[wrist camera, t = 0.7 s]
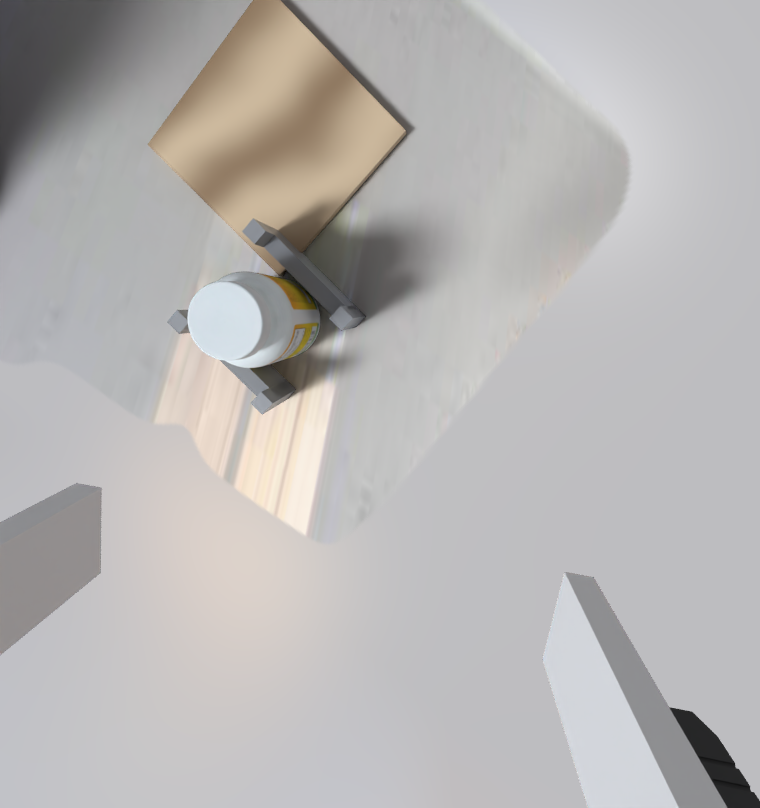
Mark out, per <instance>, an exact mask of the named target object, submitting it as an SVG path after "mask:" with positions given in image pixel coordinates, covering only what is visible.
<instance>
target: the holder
mask: <svg viewBox="0 0 760 808" xmlns="http://www.w3.org/2000/svg"><path fill="white" fill-rule="evenodd" d="M242 232H243V233H244V234H245V235H246V236H247V237H248V238H249V239H250V240H251V241H252V242H253V243H254V244H255V245H258V246H261V247H264V248H265V249H266V250H267V251H268V252H269V253H270V254H271V255H272V256H273V257H274V258H275V259H276V260H277V261H278V262H279V263H280V264H281V265H282V266H283V267H284V268H285V269H286V270H287V271H288V272H289V273H290V274H291V275H292V276H293V277H294V278H295V279H296V280H297V281H298V282H299V283H300V284H301V285H302V286H303V287H304V288H305V289H306V290H307V291H308V292H309V293H310V294H311V295H312V296H313V297H314V298H315V299H316V300H317V301H318V302H319V303H320V304H321V305H322V306H323V307H324V308H325V309H326V310H327V311H328V312H329V313H330V314H331V315H332V316H331V317H330V318H329V319H330V320H331V321H332V322H333V323H334V324H335V325H336V326H337V327H338V328H339V329H340V330H341V331H342V330H346V329H350V328H354V327H356V326H357V325H358V324H359V323H360V322H361V321H362V320H363V319H364V318H365V317H366V316H365V315H364V314H363V313H362V312H361V311H360V310H359V309H358V308H357V307H356V306H355V305H354V304H353V303H352V302H351V301H350V300H349V299H348V298H347V297H346V296H345V295H344V294H343V293H342V292H341V291H340V290H339V289H338V288H337V287H336V286H335V285H334V284H333V283H332V282H331V281H330V280H329V279H328V278H327V277H326V276H325V275H324V274H323V273H322V272H321V271H320V270H319V269H318V268H317V267H316V266H315V265H314V264H313V263H312V262H311V261H310V260H309V259H308V258H307V257H306V256H305V255H304V254H303V253H301V252H299V251H298V250H297V249H296V248H295V247H294V246H293V245H292V244H291V243H290V242H289V241H288V240H287V239H286V238H285V237H284V236H283V235H282V234H281V233H280V232H279V231H278V230H277V229H275V228H272V227H270V226H268V225H266V224H264V223H262V222H260V221H258V220H256V219H254V218H253V219H252V220H251V221H250V222H249V224H248V225H247V226H246V227H245V229H244V230H243V231H242ZM187 317H188V310H177V311H176V312H175V313H174V314H173V316H172V317H171V318H170V319H169V320H168V323H169V324H170V325H171V326H172V327H173V328H174V329H175V330H176V331H177V332H178V333H179V334H182V333H190V331H189V327H188V319H187ZM220 361H221V362H222V363H223V364H224V365H225V366H226V367H227V368H228V369H229V370H230V371H232V372H233V373H234V374H235V375H236V376H237V377H238V378H239V379H240V380H241V381H242V382H243V383H244V384H245V385H246V386H247V387H248V388H249V389H250V390H251V391H252V392H253V393H254V394H255V395H256V396H257V397H256V398H255V399H254V400H253V401H252V402H251V404H252V405H253V406H254V407H255V408H256V409H257V410H258V411H259V412H260V413H261V414H264V413H265V412H267V411H269V410H270V409H272V408H274V407H275V406H277V405H279V404H280V403H282V402H284V401H285V400H287V399H288V398H289V397H290V396H291V395H292V394H293V393H294V392H295V390H296V389H295V388H294V387H293V386H292V385H291V384H290V383H289V382H288V381H287V380H286V379H285V378H284V377H283V376H282V375H281V374H280V373H279V372H278V371H277V370H276V369H275V368H274V367H273V366H271V365H270V364H269V365H265V366H261V367H256V368H243V367H239V366H235V365H232V364H230V363H228V362H226V361H224V360H220Z"/></svg>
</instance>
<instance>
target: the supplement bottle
mask: <svg viewBox="0 0 760 808" xmlns="http://www.w3.org/2000/svg"><path fill="white" fill-rule="evenodd" d="M187 319H188V327H189V331H190V334H191V336H192V338H193V340H194V342H195V343H196V344H197V346H198V347H199V348H200V349H201V350H202V351H203V352H204V353H206V354H207V355H209V356H211V357H213V358H216V359H219V360H224V361H226V362H228V363H230V364H232V365H235V366H239V367H243V368H256V367H261V366H265V365H269V364H272V363H275V362H278V361H281V360H285V359H288V358H291V357H294V356H297V355H299V354H301V353H303V352H304V351H306V350H307V349H308V348H309V347H310V346H311V345H312V344H313V342H314V341H315V339H316V337H317V335H318V332H319V328H320V312H319V308H318V305H317V303H316V301H315V299H314V298H313V296H312V295H311V294H310V293H309V292H308V291H307V290H306V289H305V288H304V287H303V286H301V285H300V284H298V283H296V282H294V281H291V280H288V279H283V278H278V277H273V276H268V275H264V274H259V273H254V272H236V273H232V274H229V275H226V276H224V277H223V278H221V279H219V280H218V281H217V282H213V283H210V284H208V285H206V286H204V287H203V288H201V289H200V290H199V291H198V292H197V293H196V294H195V296H194V297H193V299H192V301H191V303H190V305H189V309H188V317H187Z"/></svg>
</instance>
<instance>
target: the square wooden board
mask: <svg viewBox="0 0 760 808" xmlns="http://www.w3.org/2000/svg"><path fill="white" fill-rule="evenodd" d="M405 135H406V130H405V129H404V128H403V127H402V126H401V125H400V124H399V123H398V122H397V121H396V120H395V119H394V118H393V117H392V116H391V115H390V114H389V113H388V112H387V111H386V110H385V109H384V108H383V107H382V105H381V104H380V103H379V102H378V101H377V100H376V99H375V98H374V97H373V96H372V95H371V94H370V93H369V92H368V91H367V90H366V89H365V88H364V87H363V86H362V85H361V84H360V83H359V82H358V81H357V80H356V78H355V77H354V76H353V75H352V74H351V73H350V72H349V71H348V70H347V69H346V68H345V67H344V66H343V65H342V64H341V63H340V62H339V61H338V60H337V59H336V58H335V57H334V56H333V55H332V54H331V53H330V51H329V50H328V49H327V48H326V47H325V46H324V45H323V44H322V43H321V42H320V41H319V40H318V39H317V38H316V37H315V36H314V35H313V34H312V33H311V32H310V31H309V30H308V29H307V28H306V27H305V26H304V24H303V23H302V22H301V21H300V20H299V19H298V18H297V17H296V16H295V15H294V14H293V13H292V12H291V11H290V10H289V9H288V8H287V7H286V6H285V5H284V4H283V3H282V2H281V1H280V0H253V1H252V3H251V4H250V5H249V7H248V8H247V9H246V11H245V12H244V14H243V15H242V16H241V18H240V19H239V20H238V22H237V23H236V24H235V26H234V27H233V29H232V30H231V31H230V33H229V34H228V35H227V37H226V38H225V40H224V41H223V42H222V44H221V45H220V46H219V48H218V49H217V50H216V52H215V53H214V55H213V56H212V57H211V59H210V60H209V61H208V63H207V64H206V65H205V67H204V68H203V70H202V71H201V72H200V74H199V75H198V76H197V78H196V79H195V80H194V82H193V83H192V85H191V86H190V87H189V89H188V90H187V91H186V93H185V94H184V96H183V97H182V98H181V100H180V101H179V102H178V104H177V105H176V106H175V108H174V109H173V111H172V112H171V113H170V115H169V116H168V117H167V119H166V120H165V121H164V123H163V124H162V126H161V127H160V128H159V130H158V131H157V132H156V134H155V135H154V136H153V138H152V139H151V141H150V142H149V143H148V145H149V146H150V147H151V148H152V149H153V150H154V151H155V152H156V153H157V154H158V155H159V156H160V157H161V158H162V159H163V160H164V161H165V162H166V163H167V164H168V165H169V166H170V167H171V168H172V169H173V170H174V171H175V172H176V173H177V174H178V175H179V176H180V177H181V178H182V179H183V180H184V181H185V182H186V183H187V184H188V185H189V186H190V187H191V188H192V189H193V190H194V191H195V192H196V193H197V194H198V195H199V196H200V197H201V198H202V199H203V200H204V201H205V202H206V203H207V204H208V205H209V206H210V207H211V208H212V209H213V210H214V211H215V212H216V213H217V214H218V215H219V216H220V217H221V218H222V219H223V220H224V221H225V222H226V223H227V224H228V225H229V226H230V227H231V228H232V229H233V230H234V231H235V232H236V233H237V234H238V235H239V236H240V237H241V238H242V239H243V240H244V241H245V242H246V243H247V244H248V245H249V246H250V247H251V248H252V249H253V250H254V251H255V252H256V253H257V254H258V255H259V256H260V257H261V258H262V259H263V260H264V261H265V262H266V263H267V264H268V265H269V266H270V267H271V268H272V269H273V270H274V271H275V272H276V273H277V274H278V275H279V276H283V275H284V273H285V272H286V271H287V270H286V269H285V268H284V267H283V266H282V265H281V264H280V263H279V262H278V261H277V260H276V259H275V258H274V257H273V256H272V255H271V254H270V253H269V252H268V251H267V250H266V249H265V248H264V247H261V246H258V245H255V244H254V243H253V242H252V241H251V240H250V239H249V238H248V237H247V236H246V235H245V234H244V233H243V232H242V231H243V230H244V229H245V227H246V226H247V225H248V224H249V222H250V221H251V220H252V219H253V218H254V219H256V220H258V221H260V222H262V223H264V224H266V225H268V226H270V227H272V228H275V229H277V230H278V231H279V232H280V233H281V234H282V235H283V236H284V237H285V238H286V239H287V240H288V241H289V242H290V243H291V244H292V245H293V246H294V247H295V248H296V249H297V250H298V251H299V252H301V253H303V252H304V251H305V249H306V248H307V247H308V246H309V245H310V244H311V243H312V241H313V240H314V239H315V238H316V237H317V236H318V235H319V233H320V232H321V231H322V230H323V229H324V228H325V227H326V225H327V224H328V223H329V222H330V221H331V220H332V219H333V217H334V216H335V215H336V214H337V213H338V212H339V211H340V209H341V208H342V207H343V206H344V205H345V204H346V203H347V201H348V200H349V199H350V198H351V197H352V196H353V195H354V193H355V192H356V191H357V190H358V189H359V188H360V187H361V185H362V184H363V183H364V182H365V181H366V180H367V179H368V177H369V176H370V175H371V174H372V173H373V172H374V171H375V169H376V168H377V167H378V166H379V165H380V164H381V163H382V161H383V160H384V159H385V158H386V157H387V156H388V155H389V153H390V152H391V151H392V150H393V149H394V148H395V147H396V145H397V144H398V143H399V142H400V141H401V140H402V139H403V137H404V136H405Z"/></svg>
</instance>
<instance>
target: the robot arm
mask: <svg viewBox="0 0 760 808" xmlns="http://www.w3.org/2000/svg"><path fill="white" fill-rule="evenodd" d="M101 490H102V488H100V487H95V486H89V485H84V484H78V483H76V484H74V485H72V486H70V487H68V488H66V489H64V490H62V491H60V492H58V493H56V494H54V495H53V496H51V497H49V498H47V499H45V500H43V501H41V502H39V503H37V504H35V505H33V506H31V507H29V508H27V509H25V510H23V511H21V512H19V513H17V514H16V515H14V516H12V517H10V518H8V519H6V520H4V521H2V522H0V655H1V654H2V653H4V652H5V651H6V650H7V649H8V648H10V647H11V646H12V645H13V644H15V643H16V642H17V641H18V640H19V639H21V638H22V637H23V636H24V635H25V634H27V633H28V632H29V631H30V630H32V629H33V628H34V627H35V626H37V625H38V624H39V623H40V622H41V621H43V620H44V619H45V618H46V617H47V616H49V615H50V614H51V613H52V612H53V611H55V610H56V609H57V608H58V607H60V606H61V605H62V604H63V603H64V602H65V601H67V600H68V599H69V598H70V597H72V596H73V595H74V594H75V593H77V592H78V591H79V590H80V589H82V588H83V587H84V586H85V585H86V584H88V583H89V582H90V581H91V580H92V579H93V578H95V577H96V576H97V575H99V574H100V572H101V569H100V568H101ZM542 660H543V663H544V666H545V669H546V672H547V676H548V679H549V682H550V686H551V689H552V692H553V696H554V699H555V702H556V705H557V709H558V712H559V715H560V719H561V722H562V725H563V728H564V732H565V735H566V738H567V741H568V744H569V748H570V751H571V754H572V758H573V761H574V764H575V767H576V771H577V774H578V778H579V781H580V784H581V787H582V790H583V794H584V797H585V800H586V803H587V807H588V808H760V801H759V799H758V798H757V796H756V795H755V793H754V792H751V790H750V786H749V784H748V782H747V781H746V779H745V778H744V776H743V775H742V773H741V772H740V770H739V769H736V767H735V763H734V761H733V760H732V758H731V756H730V755H729V753H728V752H727V750H726V749H725V747H724V746H723V744H722V743H721V741H720V740H719V738H718V737H717V736H716V735H715V734H714V733H713V732H712V731H711V730H710V729H709V728H708V727H707V726H706V725H705V724H704V723H703V722H702V721H701V720H700V719H699V718H698V717H697V716H696V715H695V714H694V713H693V712H690V711H685V710H680V709H675V708H670V707H669V706H668V705H667V703H666V701H665V699H664V698H663V696H662V694H661V693H660V691H659V689H658V687H657V686H656V684H655V682H654V680H653V679H652V677H651V675H650V673H649V672H648V670H647V668H646V667H645V665H644V663H643V661H642V660H641V658H640V656H639V655H638V653H637V651H636V650H635V648H634V646H633V644H632V642H631V641H630V639H629V637H628V636H627V634H626V632H625V631H624V629H623V627H622V625H621V624H620V622H619V620H618V619H617V617H616V615H615V613H614V611H613V610H612V608H611V606H610V605H609V603H608V601H607V599H606V598H605V596H604V594H603V592H602V591H601V589H600V587H599V586H598V584H597V583H596V580H595V579H594V577H589V576H584V575H578V574H573V573H567V572H565V573H564V576H563V581H562V584H561V588H560V592H559V596H558V600H557V604H556V608H555V612H554V616H553V620H552V624H551V628H550V632H549V636H548V640H547V644H546V647H545V652H544V655H543V659H542Z"/></svg>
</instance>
